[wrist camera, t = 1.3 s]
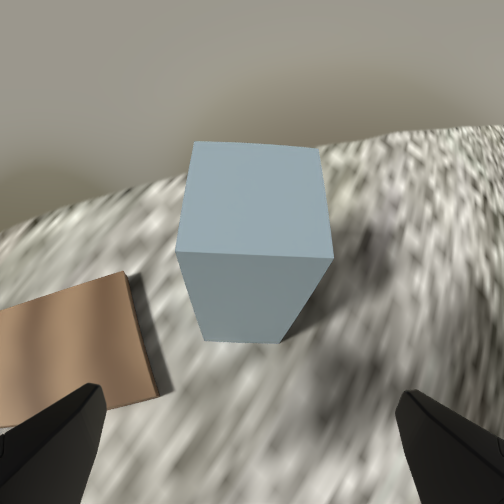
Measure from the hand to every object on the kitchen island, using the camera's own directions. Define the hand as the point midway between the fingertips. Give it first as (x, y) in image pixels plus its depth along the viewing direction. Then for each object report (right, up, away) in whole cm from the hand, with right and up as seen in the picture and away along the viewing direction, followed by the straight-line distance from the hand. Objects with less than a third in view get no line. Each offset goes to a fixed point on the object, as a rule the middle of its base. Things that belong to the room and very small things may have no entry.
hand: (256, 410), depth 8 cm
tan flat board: (-15, -4, +11) cm, 19 cm away
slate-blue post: (-1, +1, +14) cm, 14 cm away
